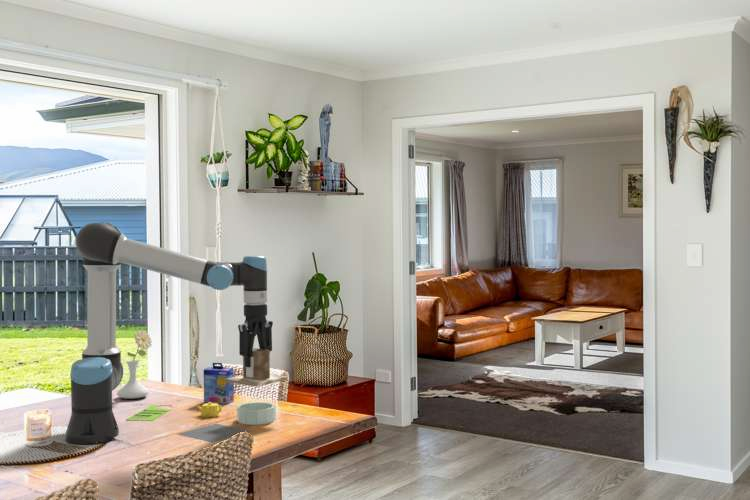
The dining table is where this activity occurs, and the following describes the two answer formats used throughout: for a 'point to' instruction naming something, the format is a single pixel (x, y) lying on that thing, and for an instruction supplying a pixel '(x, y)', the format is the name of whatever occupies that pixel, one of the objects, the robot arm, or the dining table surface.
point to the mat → (213, 432)
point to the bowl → (256, 413)
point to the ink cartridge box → (218, 384)
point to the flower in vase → (133, 386)
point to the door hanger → (148, 414)
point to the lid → (258, 371)
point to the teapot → (210, 409)
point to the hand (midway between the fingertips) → (256, 375)
